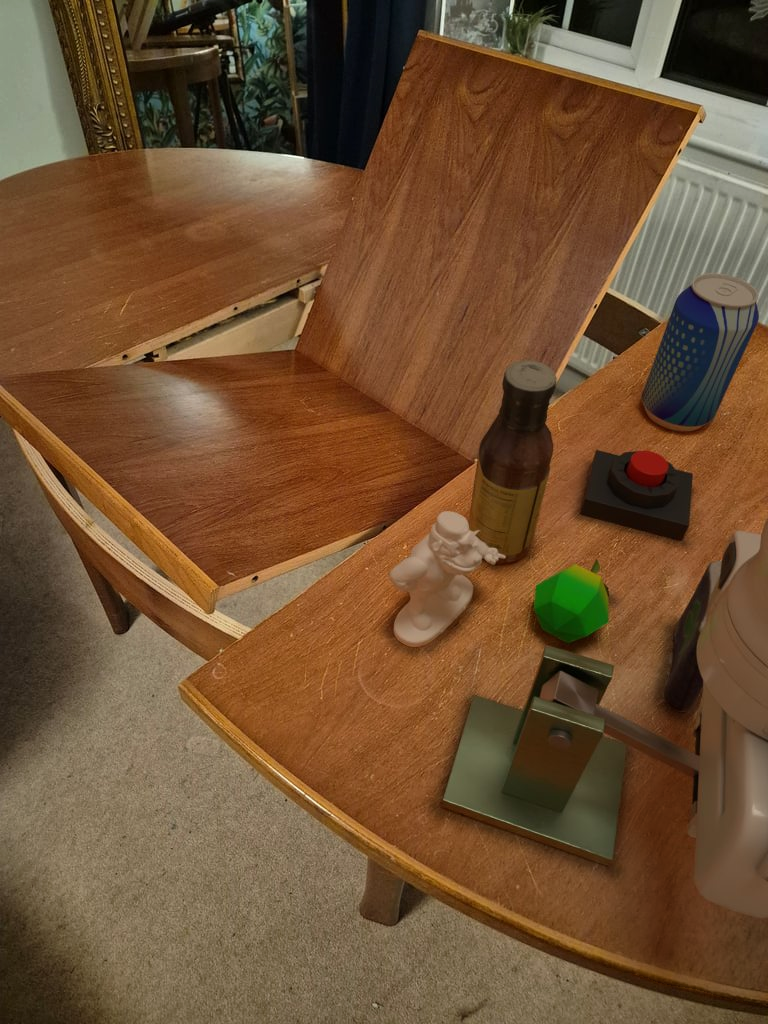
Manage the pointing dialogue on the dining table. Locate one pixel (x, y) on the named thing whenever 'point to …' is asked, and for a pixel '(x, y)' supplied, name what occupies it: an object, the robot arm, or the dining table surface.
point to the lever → (623, 726)
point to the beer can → (700, 351)
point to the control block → (637, 497)
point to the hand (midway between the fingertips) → (702, 777)
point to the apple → (572, 603)
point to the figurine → (438, 578)
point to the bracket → (543, 765)
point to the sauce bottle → (514, 462)
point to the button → (647, 468)
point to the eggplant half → (689, 645)
